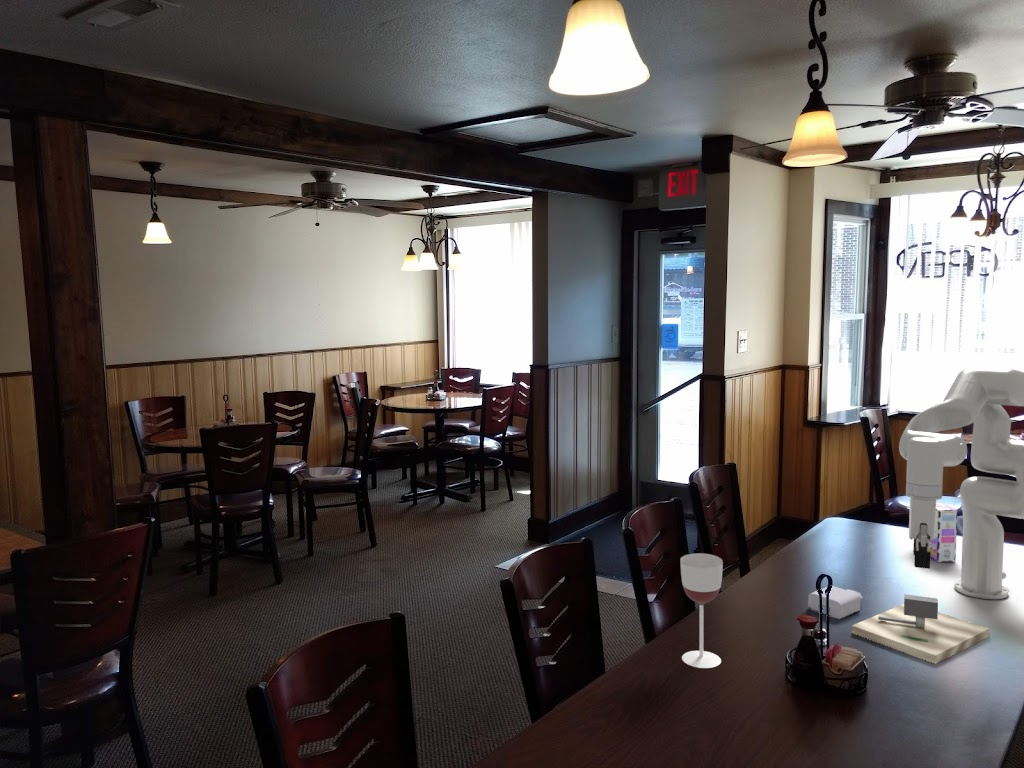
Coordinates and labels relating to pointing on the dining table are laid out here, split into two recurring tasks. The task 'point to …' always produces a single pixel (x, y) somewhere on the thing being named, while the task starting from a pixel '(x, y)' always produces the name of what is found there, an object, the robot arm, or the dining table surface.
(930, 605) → the key
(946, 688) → the dining table surface
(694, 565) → the wineglass
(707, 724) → the dining table surface
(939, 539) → the candy box
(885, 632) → the wooden cutting board
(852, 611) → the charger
